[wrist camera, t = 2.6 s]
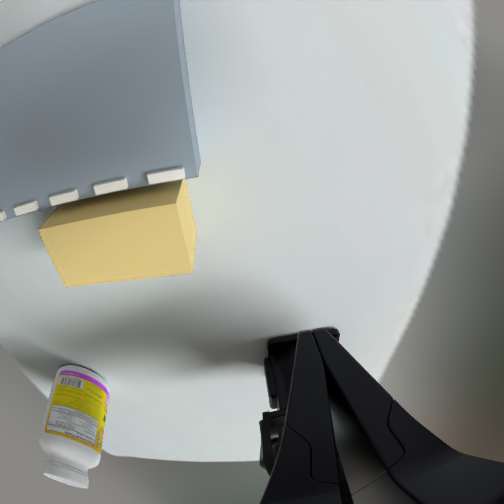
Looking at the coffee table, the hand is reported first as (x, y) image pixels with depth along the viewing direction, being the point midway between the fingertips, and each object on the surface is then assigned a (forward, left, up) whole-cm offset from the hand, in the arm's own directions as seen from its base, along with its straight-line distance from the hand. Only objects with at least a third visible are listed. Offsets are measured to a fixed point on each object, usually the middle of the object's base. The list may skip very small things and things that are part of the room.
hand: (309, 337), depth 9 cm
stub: (+9, 0, -10) cm, 14 cm away
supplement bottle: (+22, +18, -11) cm, 30 cm away
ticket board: (+12, -8, -10) cm, 18 cm away
